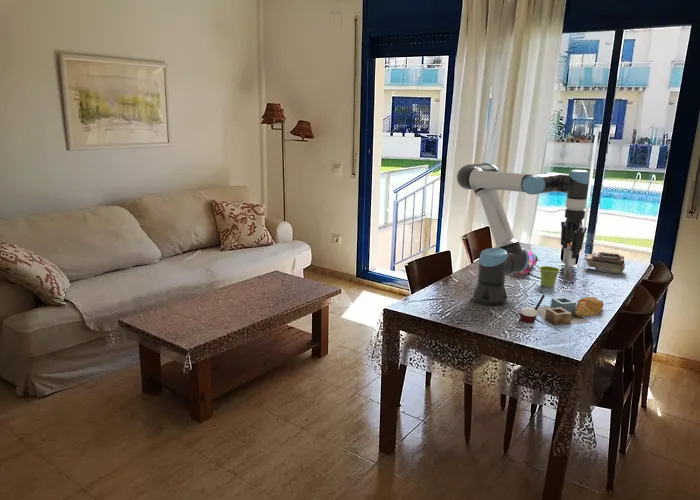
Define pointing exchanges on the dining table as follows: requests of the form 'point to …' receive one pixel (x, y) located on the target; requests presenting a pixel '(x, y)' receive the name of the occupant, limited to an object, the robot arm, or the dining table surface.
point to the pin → (567, 268)
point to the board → (574, 320)
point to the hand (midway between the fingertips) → (568, 264)
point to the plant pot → (548, 275)
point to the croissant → (588, 306)
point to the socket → (564, 304)
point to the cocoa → (529, 313)
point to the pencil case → (531, 263)
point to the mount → (558, 315)
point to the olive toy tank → (606, 262)
